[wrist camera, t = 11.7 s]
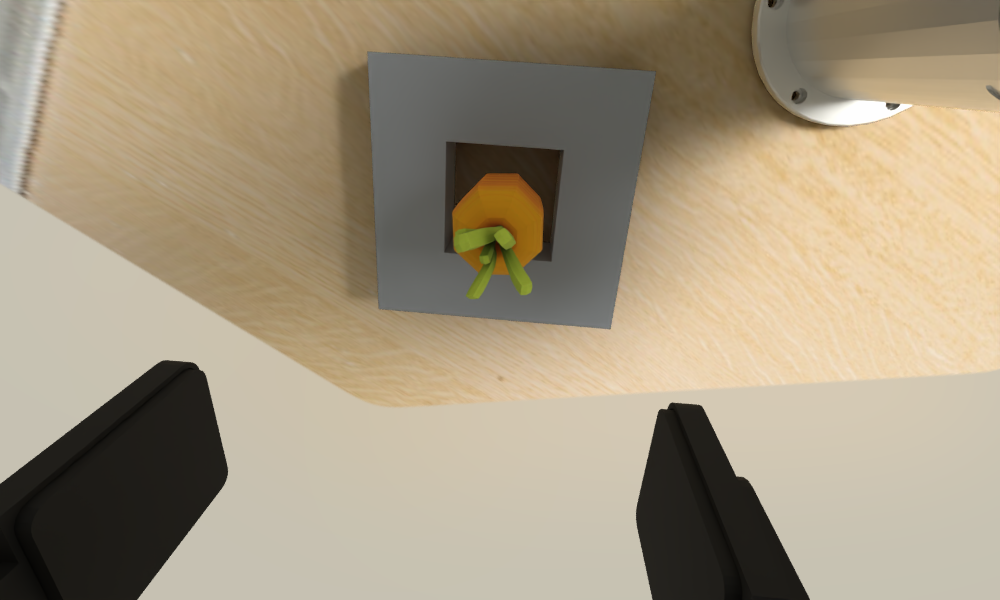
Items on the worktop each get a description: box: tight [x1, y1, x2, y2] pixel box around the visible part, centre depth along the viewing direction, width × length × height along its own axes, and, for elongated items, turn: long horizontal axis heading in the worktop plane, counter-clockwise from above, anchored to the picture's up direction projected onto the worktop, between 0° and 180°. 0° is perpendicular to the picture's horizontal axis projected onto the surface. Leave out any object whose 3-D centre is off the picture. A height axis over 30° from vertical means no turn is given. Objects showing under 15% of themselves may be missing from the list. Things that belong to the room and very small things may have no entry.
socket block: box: [368, 52, 656, 329], centre depth 33 cm, size 16×16×4 cm
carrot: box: [452, 173, 544, 299], centre depth 28 cm, size 5×5×15 cm
